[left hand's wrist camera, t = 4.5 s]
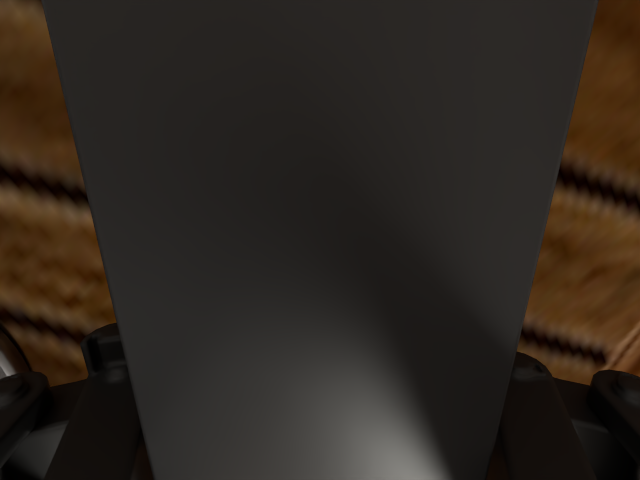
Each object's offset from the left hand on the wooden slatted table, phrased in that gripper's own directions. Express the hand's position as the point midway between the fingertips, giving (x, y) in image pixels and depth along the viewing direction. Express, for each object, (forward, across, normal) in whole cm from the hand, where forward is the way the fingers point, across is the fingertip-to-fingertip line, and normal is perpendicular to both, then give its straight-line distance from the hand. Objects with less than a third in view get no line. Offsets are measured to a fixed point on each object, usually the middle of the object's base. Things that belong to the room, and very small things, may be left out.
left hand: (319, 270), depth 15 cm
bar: (+1, 0, -7) cm, 7 cm away
